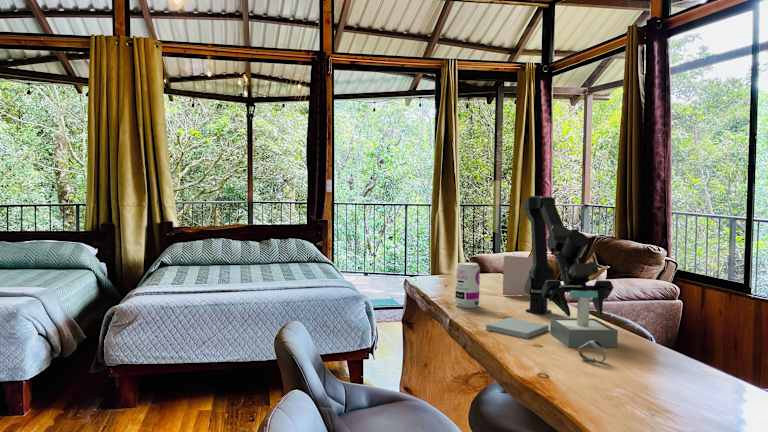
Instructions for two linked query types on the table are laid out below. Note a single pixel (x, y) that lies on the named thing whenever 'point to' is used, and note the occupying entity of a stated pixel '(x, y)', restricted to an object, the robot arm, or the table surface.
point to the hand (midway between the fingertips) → (585, 315)
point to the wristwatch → (597, 346)
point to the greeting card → (516, 274)
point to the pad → (517, 327)
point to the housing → (583, 334)
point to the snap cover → (583, 313)
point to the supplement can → (467, 285)
